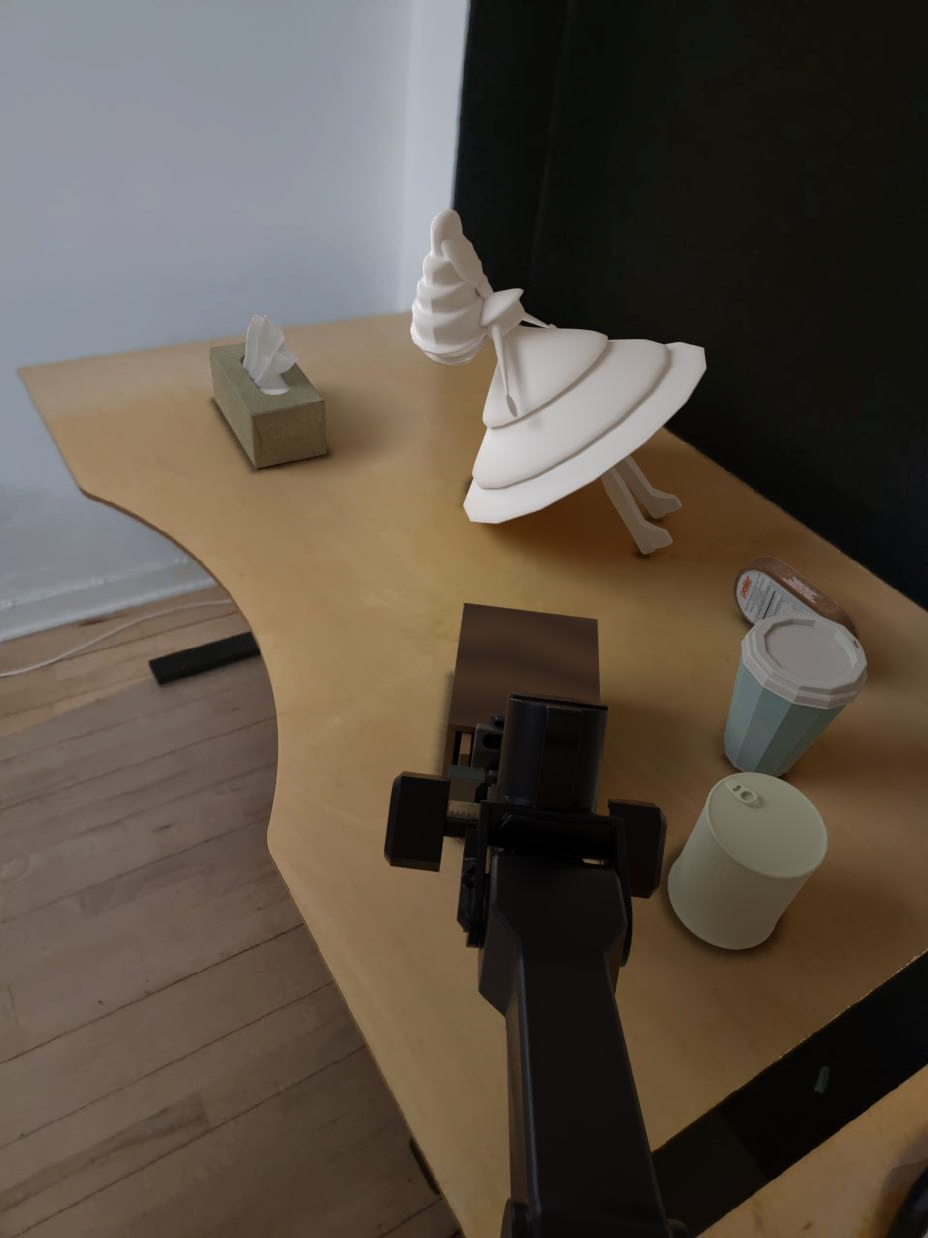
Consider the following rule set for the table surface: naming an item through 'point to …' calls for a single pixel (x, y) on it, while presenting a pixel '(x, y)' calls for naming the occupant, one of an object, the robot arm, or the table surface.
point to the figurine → (550, 394)
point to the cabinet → (517, 664)
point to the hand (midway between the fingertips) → (517, 808)
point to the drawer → (464, 775)
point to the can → (746, 859)
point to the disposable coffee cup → (790, 689)
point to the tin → (784, 594)
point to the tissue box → (268, 397)
